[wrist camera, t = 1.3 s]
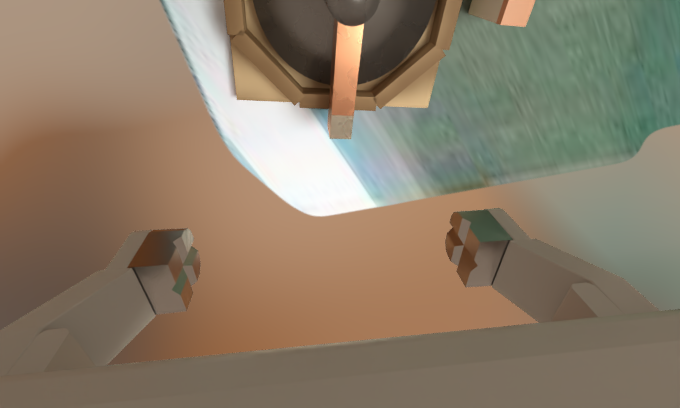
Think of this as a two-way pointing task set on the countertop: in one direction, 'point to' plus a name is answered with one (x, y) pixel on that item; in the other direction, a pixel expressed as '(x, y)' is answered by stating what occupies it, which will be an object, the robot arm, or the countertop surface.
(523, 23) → the post
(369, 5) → the dial
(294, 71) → the dial housing
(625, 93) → the countertop surface
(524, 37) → the countertop surface
